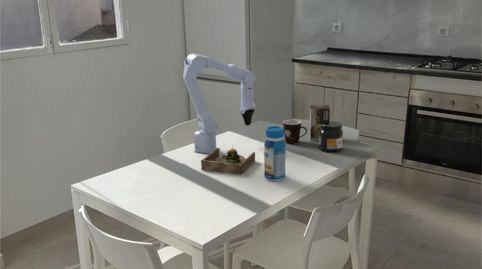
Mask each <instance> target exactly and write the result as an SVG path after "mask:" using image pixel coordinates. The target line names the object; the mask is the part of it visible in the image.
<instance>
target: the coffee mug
mask: <svg viewBox="0 0 482 269" xmlns="http://www.w3.org/2000/svg"><path fill="white" fill-rule="evenodd" d="M282 126H283V127H282V128H284V142H285V144H287V145H297V143H298V144H299V143H300V138H302V137H305V136H306V134H307V133H308V130H307V128H306V127H305V126H302V121H301V120H299V119H286V120H283V121H282ZM301 129H304V130H305V132H304V134H302V135H301Z"/></svg>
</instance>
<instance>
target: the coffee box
mask: <svg viewBox="0 0 482 269" xmlns="http://www.w3.org/2000/svg"><path fill="white" fill-rule="evenodd" d="M309 108H310V109H309V110H310V111H309V141H311V142H315V141H316V142H317V141H318V142H319V130H320V129H321V128H320V125H321V123H322V122H325V121H331V118H330V117H331V108H330V105H329V104H327V105H326V104H321V105H320V104H319V105H318V104H316V105H315V104H313V105H312V104H310V105H309Z"/></svg>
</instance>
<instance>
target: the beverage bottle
mask: <svg viewBox="0 0 482 269" xmlns="http://www.w3.org/2000/svg"><path fill="white" fill-rule="evenodd" d="M265 137H266V140H265V141H264V143H263V144H264V145H263V146H264V150H263V156H264V159H263V160H264V161H263V162H264V165H263V166H264V173H263V174H264V175H263V176H264V179H266V180H267V181H270V182H279V181H283V180H284V179H285V178H286V155H287V150H286V146H287V145H286V144H287V143H285V139H284V138H285V136H284V127H282V126H278V125H271V126H268V127H266V128H265Z"/></svg>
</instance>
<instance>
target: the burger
mask: <svg viewBox="0 0 482 269" xmlns="http://www.w3.org/2000/svg"><path fill="white" fill-rule="evenodd" d="M233 146H234V145H232V148H230V149H229V150H227V152H226V155H225V154H223V155H221V156H219V157H218V158H217V162H224V163H231V164H239V165H240V164H241V163H242V162H243V161H245V160H246V159H247V158H246V157H245V156H243V155H240V154H238V150H237V149H235V148H233Z"/></svg>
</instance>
